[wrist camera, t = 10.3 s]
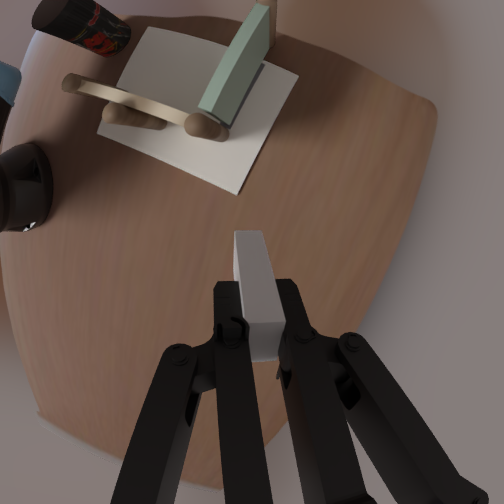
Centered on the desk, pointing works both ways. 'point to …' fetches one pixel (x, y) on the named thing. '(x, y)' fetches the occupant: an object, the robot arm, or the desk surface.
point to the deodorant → (82, 25)
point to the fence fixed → (143, 110)
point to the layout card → (187, 100)
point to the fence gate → (241, 62)
